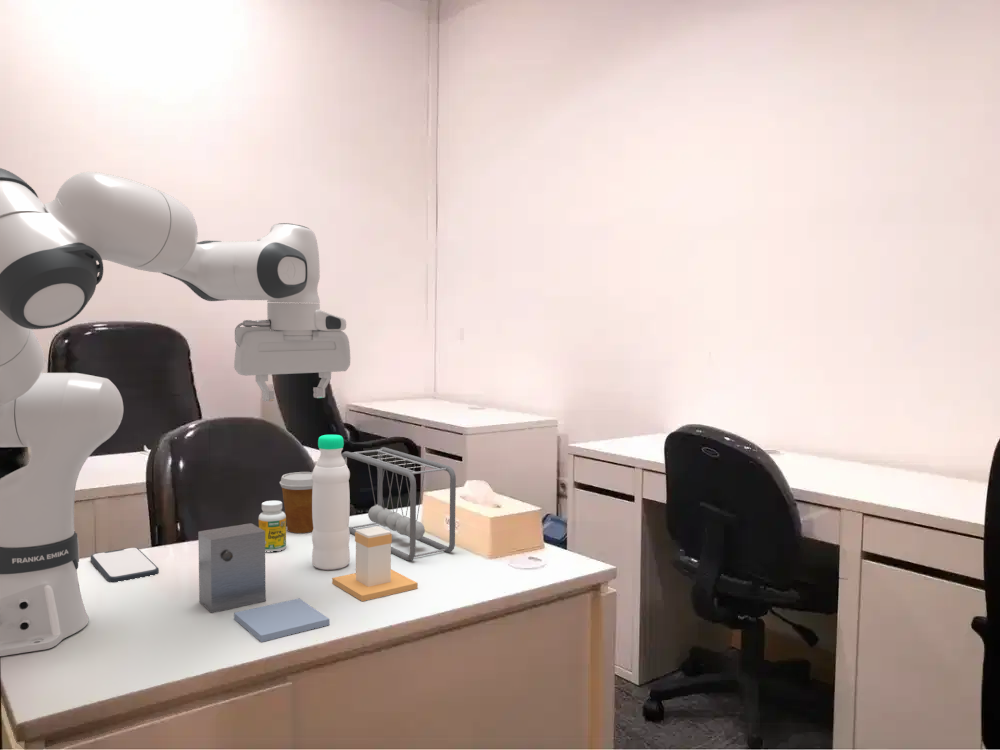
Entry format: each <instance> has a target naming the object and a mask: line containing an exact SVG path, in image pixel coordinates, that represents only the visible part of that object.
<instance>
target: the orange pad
mask: <svg viewBox="0 0 1000 750" xmlns="http://www.w3.org/2000/svg"><path fill="white" fill-rule="evenodd" d="M331 579H332V580H331V583H332V584H333V585H334V586H336V587H337V588H339V589H341V590H342V591H344V592H345V593H347V594H349V595H350V596H352V597H354V598H355V597H356V598H355V599H357V600H359V601H360V600H361V601H360V602H366V600H367V601H370V599H371V600H374V599H375V600H376V599H379V598H384V597H387V596H392V595H396V594H401V593H403V592H404V593H405V592H408V591H412V590H416V589H418V588H419V587H418V586H419V585H418V582H417V581H414V580H413V579H411V578H409V577H407V576H405V575H403V574H401V573H399V572H398V571H395V570H393V569H392V568H391V582H387V583H383V584H379V585H374V586H370V587H368V586H366V585H364V584H362V583H361V582H359V581H357V580H356V572H353V573H349V574H345V575H340V576H335V577H332V578H331Z"/></svg>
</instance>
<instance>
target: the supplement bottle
mask: <svg viewBox="0 0 1000 750" xmlns="http://www.w3.org/2000/svg"><path fill="white" fill-rule="evenodd" d="M261 510H262V512H260V514H259V515H258V527H259V528H261V529H262V530H264V531H265V551H279V552H282V551H284V550H285V549H286V548H287V522H286V515H285V511H283V502H282V501H281V500H266V501H264V502H262V503H261ZM281 550H282V551H281Z"/></svg>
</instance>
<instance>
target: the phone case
mask: <svg viewBox="0 0 1000 750" xmlns="http://www.w3.org/2000/svg"><path fill="white" fill-rule="evenodd" d="M90 562H92V563H91V564H92V565H93V566H94V568H96V570H97V571H98V572H99V573H100V574H101V576H103V578H104V579H105V580H106V581H107V582H108V583H119V582H118V581H121V582H125V581H124V580H126V581H130V579H132V580H136V579H135V578H137V579H141V578H140V577H142V578H146V577H145V576H148V577H151V576H150V575H153V576H156V575H155V574H157V575H159V574H160V570H159V567H158V566H157V565H156V564H154V561H152V560H150V559H149V558H148V556H146V555H145V553H143V552H142V551H141V550H140V549H139V548H138V547H127V548H123V549H114V550H109V551H103V552H98V553H93V554H91V555H90Z"/></svg>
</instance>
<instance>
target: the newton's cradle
mask: <svg viewBox="0 0 1000 750" xmlns="http://www.w3.org/2000/svg"><path fill="white" fill-rule="evenodd" d="M368 453H377V455H374V457H377V458H373V457H372V456H371V455H370V456H369V455H368V456H367V455H364V454H368ZM341 455H342V457H343V458H344V460H345V464H346V459H347V458H349V459H353V460H355V461H358V462H361V463H365V464H367V465H368V466H367V467H368V472H369V478H370V484H371V485H370V486H371V490H372V496H373V501H374V505H373V506H371V507H370V508H369V510H368V512H367V514H368V515H367V516H368V519H369V521H371V522H372V523H365V524H361V525H354V526H349V532H350V535H353V536H355V532H356V530H357V528H363V527H370V526H375V525H380V527H387V528H388V529H389V531H390V530H391V531H394V532H397V533H399V534H400V535H403V536H408V538H409V554H408V553H406V552H404V551H401V550H400V549H397V548H396V547H393V546H391V555H392V554H393V555H394V556H397V557H398V558H402V559H403V560H405V561H409V562H410V561H413V560H414V558H418V557H422V556H427V555H431V554H436V553H442V552H444V553H452V552H453V550H454V549H455V546H456V494H457V492H456V489H457V488H456V486H457V485H456V482H457V481H456V480H457V478H456V476H457V475H456V472H455V470H454V469H453V468H452V467H451V466H449V465H447V464H443V463H441V462H437V461H433V460H430V459H426V458H423V457H420V456H416V455H412V454H408V453H405V452H403V451H398V450H396V449H392V448H388V447H385V446H383V447H380V448H379V449H372V450H364V451H363V450H362V451H354V452H351V451H348V450H347V451H344V452H341ZM383 456H385V458H384V457H383ZM388 456H390V459H394V458H395V459H394V460H393V461H390V462H388V461H387V459H388ZM397 459H400V460H398V462H400V461H401V462H402V461H404V462H403V463H401V464H399V465H397V464H396V462H397ZM383 460H385V461H383ZM393 462H394V464H393ZM406 462H410V463H407V465H412V464H414V465H413V467H410V468H408V467H406V468H405V466H406ZM416 464H417V465H420V466H418V468H421V467H424V468H423V470H420V471H419V470H418V471H416V470H415V468H416ZM346 465H347V464H346ZM401 465H403V467H402V466H401ZM370 466H374V467H376V470H377V493H376V495H377V498H376V499H377V503H376V499H375V494H374V493H375V492H374V487H373V481H372V480H373V479H372V476H371V470H370V469H371V468H370ZM426 467H427V468H430V469H428V470H427V469H426ZM412 468H413V470H411V469H412ZM385 471H386V477H387V483H388V489H389V495H388V500H387V506H386V507H385V503H384V497H383V482H384V477H385ZM388 471H389V472H392V476H391V481H389V475H388ZM440 471H444V472H447V473H448V475H449V541H448V542H449V544H448V546H447V545H445V544H442V543H440V542H437V541H436V540H433V539H430V538H428V537H426V536H424V534H425V531H426V529H425V526H424V524H423V523H422V522H421V521H418V520H419V519H418V518H419V512H420V507H421V506H420V504H421V498H422V492H423V486H424V480H425V479H424V478H425V474H426V473H432V472H433V473H434V472H440ZM394 474H395V477H396V478H395V479H396V483H397V489H398V490H397V491H398V499H397V506H396V511H394V505H393V499H392V493H391V491H392V484H393V479H394ZM397 474H398V475H401V482H400V486H399V482H398V481H399V480H398V475H397ZM417 474H423V475H422V482H421V488H420V489H421V490H420V495H419V501H418V509H417V482H416V481H417V480H416V477H415V475H417ZM404 476H405V480H406V481H405V482H406V487H407V491H408V502H407V506H406V511H405V515H404V512H403V506H402V499H401V490H402V484H403V479H404ZM408 481H409V484H408ZM390 482H391V483H390ZM409 485H410V486H409ZM390 501H391V503H390V504H391V507H392V508H391V509H392V510H391V509H388V508H389V502H390ZM399 502H400V509H401V513H398V508H399ZM408 508H409V509H408ZM408 510H409V517H408ZM416 540H418V541H420V542H422V543H424V544H427V545H429V546H431V547H433V548H435V549H438V550H433V551H429V552H423V553H418V554H416V547H417V545H416V544H417V541H416Z"/></svg>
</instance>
